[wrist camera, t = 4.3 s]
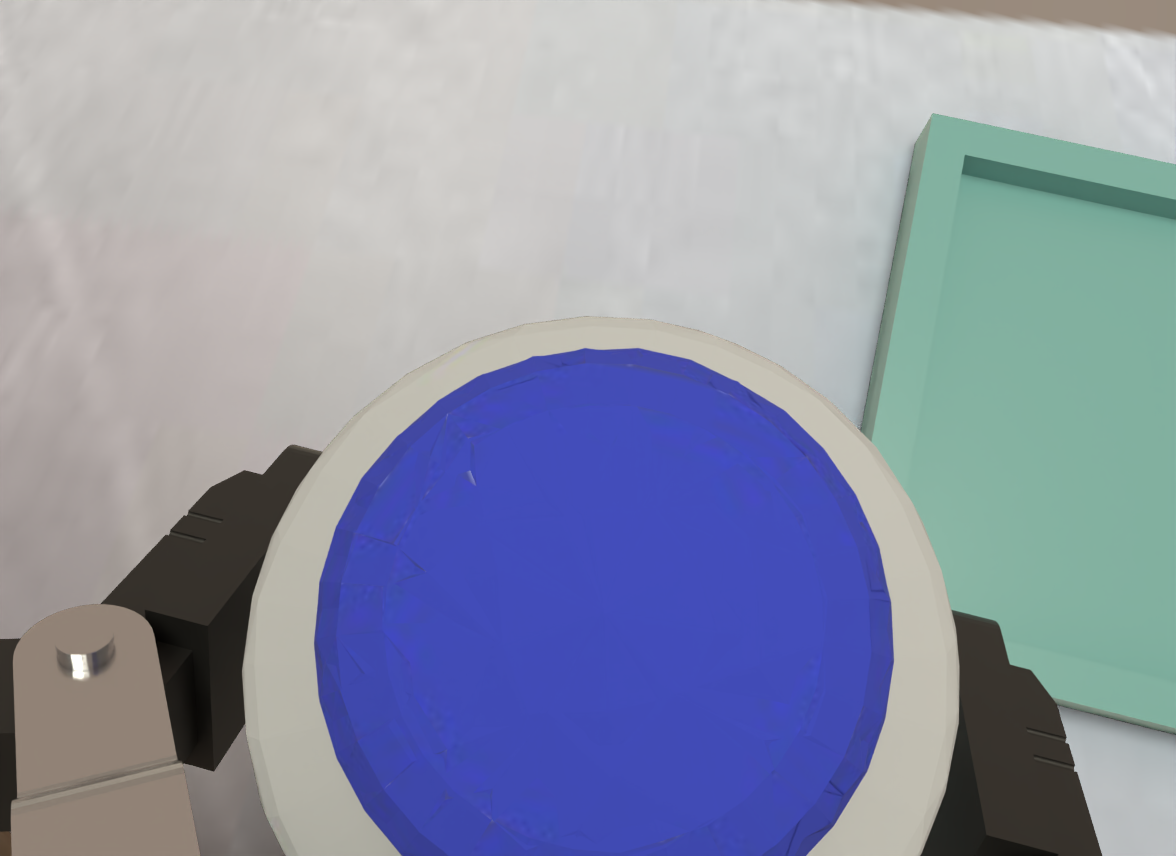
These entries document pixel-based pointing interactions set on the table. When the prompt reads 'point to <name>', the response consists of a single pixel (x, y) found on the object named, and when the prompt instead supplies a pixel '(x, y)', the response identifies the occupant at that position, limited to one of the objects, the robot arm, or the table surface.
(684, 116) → the table surface
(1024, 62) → the table surface
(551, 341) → the bottle
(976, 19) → the table surface
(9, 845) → the flower pot
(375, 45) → the table surface
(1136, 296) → the tray
